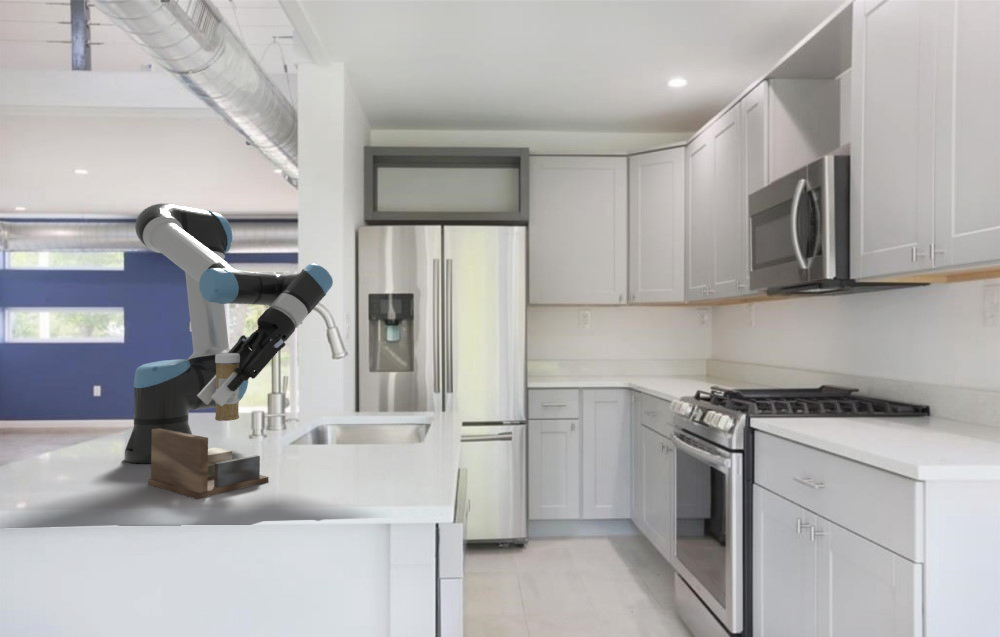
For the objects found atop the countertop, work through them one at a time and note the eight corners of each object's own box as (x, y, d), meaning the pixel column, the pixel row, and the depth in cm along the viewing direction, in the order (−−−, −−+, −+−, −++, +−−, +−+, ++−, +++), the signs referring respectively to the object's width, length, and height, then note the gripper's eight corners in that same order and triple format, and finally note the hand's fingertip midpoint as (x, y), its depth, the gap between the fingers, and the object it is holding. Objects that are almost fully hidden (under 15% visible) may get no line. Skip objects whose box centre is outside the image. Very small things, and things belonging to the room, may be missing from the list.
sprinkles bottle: (218, 418, 122) (219, 353, 122) (242, 417, 123) (242, 352, 123) (211, 421, 117) (212, 353, 118) (236, 421, 118) (236, 353, 118)
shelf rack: (219, 469, 132) (219, 420, 132) (268, 481, 122) (269, 428, 122) (148, 484, 119) (149, 429, 120) (196, 499, 109) (197, 439, 110)
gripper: (317, 330, 128) (247, 416, 114) (268, 330, 138) (198, 409, 124) (297, 305, 124) (221, 391, 110) (247, 307, 134) (172, 386, 120)
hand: (209, 400), depth 117 cm, fingers closed on sprinkles bottle, 4 cm apart
